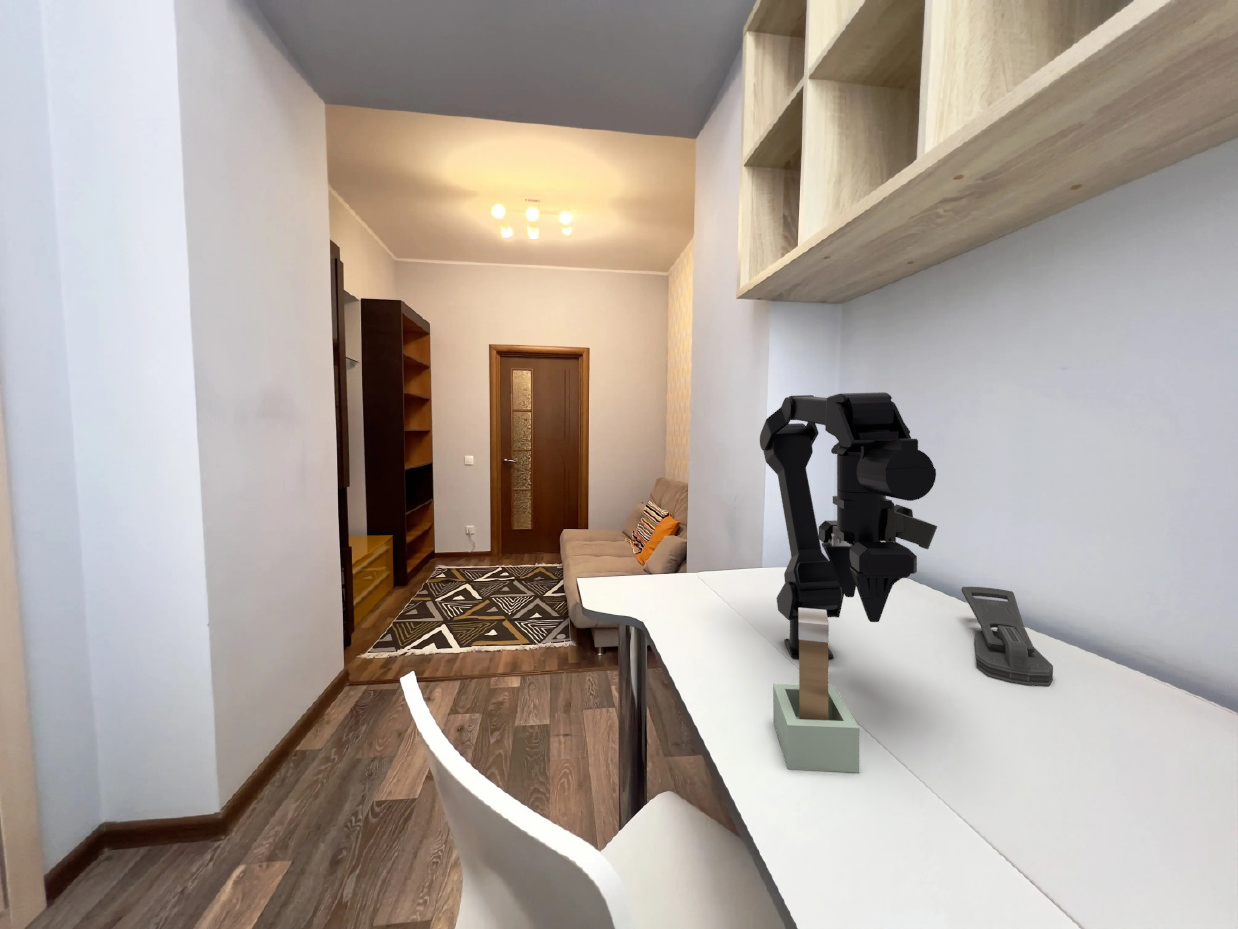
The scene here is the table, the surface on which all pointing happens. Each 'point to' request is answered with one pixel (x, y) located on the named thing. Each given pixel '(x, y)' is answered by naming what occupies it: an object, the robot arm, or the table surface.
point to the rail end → (813, 664)
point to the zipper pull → (1005, 640)
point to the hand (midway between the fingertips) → (860, 608)
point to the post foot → (815, 733)
